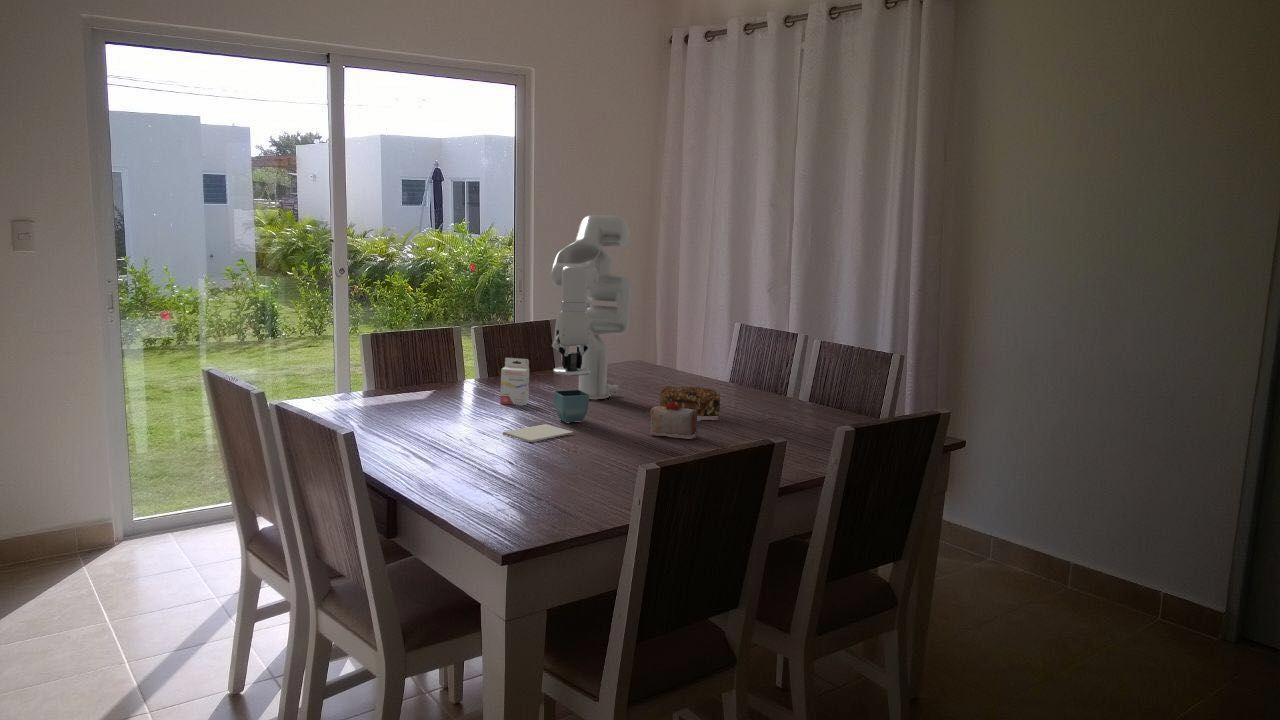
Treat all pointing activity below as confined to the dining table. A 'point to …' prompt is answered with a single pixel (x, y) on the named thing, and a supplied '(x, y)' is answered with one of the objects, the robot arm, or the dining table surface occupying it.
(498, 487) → the dining table surface
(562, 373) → the lid
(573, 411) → the flower pot
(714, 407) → the bread
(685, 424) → the food item
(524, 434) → the linen napkin
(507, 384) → the ink cartridge box
